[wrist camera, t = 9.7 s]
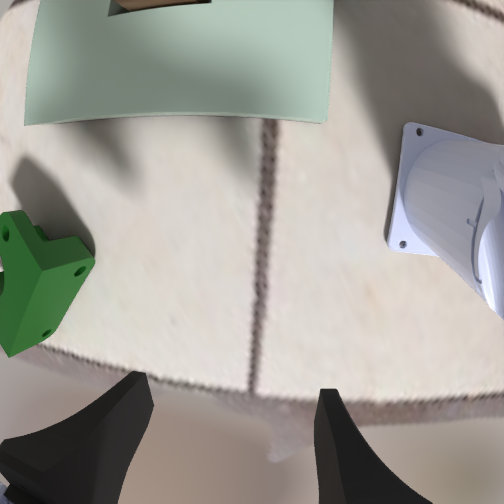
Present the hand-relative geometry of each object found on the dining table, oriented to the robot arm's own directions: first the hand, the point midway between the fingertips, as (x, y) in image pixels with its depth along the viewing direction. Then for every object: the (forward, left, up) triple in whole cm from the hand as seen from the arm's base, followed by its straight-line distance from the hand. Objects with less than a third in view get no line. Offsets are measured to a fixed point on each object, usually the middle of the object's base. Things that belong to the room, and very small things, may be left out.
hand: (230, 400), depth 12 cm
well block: (+6, -20, -10) cm, 23 cm away
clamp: (+17, 0, -10) cm, 20 cm away
